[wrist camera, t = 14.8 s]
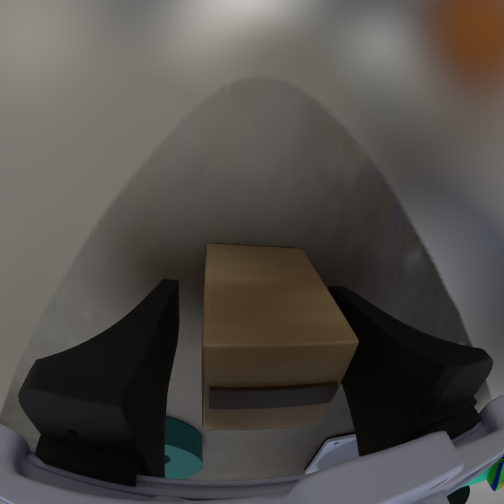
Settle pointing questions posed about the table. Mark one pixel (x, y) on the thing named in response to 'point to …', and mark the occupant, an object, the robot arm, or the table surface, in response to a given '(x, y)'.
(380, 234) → the table surface
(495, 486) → the head
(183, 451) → the bracket
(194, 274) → the table surface
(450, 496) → the telephoto lens
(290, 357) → the block
